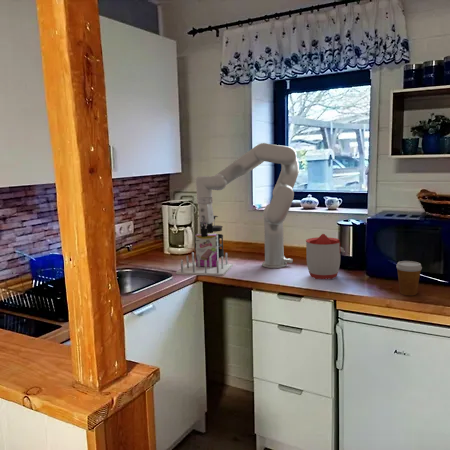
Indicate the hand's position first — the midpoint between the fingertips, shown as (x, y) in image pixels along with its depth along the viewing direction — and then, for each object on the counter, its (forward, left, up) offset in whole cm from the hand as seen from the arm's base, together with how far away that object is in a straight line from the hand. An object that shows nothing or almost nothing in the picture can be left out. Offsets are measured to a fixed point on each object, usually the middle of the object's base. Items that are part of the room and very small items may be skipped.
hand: (207, 234), depth 230 cm
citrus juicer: (-58, +9, -17) cm, 62 cm away
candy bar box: (0, 0, -16) cm, 16 cm away
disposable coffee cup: (-91, +29, -17) cm, 98 cm away
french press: (+4, -26, -17) cm, 31 cm away
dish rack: (+1, +4, -17) cm, 18 cm away
